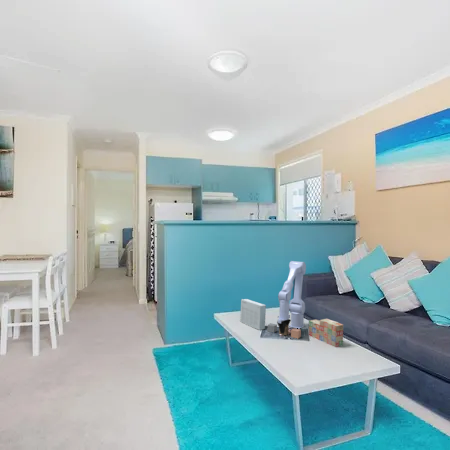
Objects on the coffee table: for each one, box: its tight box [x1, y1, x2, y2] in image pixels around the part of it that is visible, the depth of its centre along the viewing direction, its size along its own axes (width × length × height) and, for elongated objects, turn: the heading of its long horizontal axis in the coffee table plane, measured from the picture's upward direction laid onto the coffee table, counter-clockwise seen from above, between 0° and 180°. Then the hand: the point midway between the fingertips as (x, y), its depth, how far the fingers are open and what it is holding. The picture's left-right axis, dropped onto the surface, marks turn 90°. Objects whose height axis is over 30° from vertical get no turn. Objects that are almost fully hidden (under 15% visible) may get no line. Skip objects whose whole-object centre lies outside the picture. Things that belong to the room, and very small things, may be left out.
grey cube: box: [266, 323, 278, 334], centre depth 203 cm, size 4×4×4 cm
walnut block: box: [278, 324, 290, 336], centre depth 199 cm, size 4×4×6 cm
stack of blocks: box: [308, 318, 344, 348], centre depth 190 cm, size 21×6×12 cm, turn 29°
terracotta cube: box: [290, 327, 302, 340], centre depth 194 cm, size 4×4×4 cm
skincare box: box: [239, 298, 267, 331], centre depth 215 cm, size 21×5×16 cm, turn 34°
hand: (283, 331), depth 199 cm, fingers closed on walnut block, 4 cm apart
